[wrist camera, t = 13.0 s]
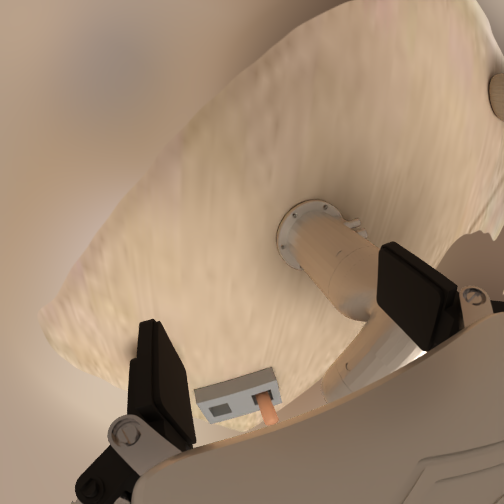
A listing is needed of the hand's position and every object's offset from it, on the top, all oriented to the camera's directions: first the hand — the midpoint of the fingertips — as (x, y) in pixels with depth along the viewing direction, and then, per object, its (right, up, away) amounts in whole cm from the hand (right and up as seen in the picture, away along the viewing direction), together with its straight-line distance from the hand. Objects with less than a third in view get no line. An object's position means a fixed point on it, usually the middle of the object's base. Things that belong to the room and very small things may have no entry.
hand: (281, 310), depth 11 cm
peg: (0, -29, +52) cm, 59 cm away
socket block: (-4, -30, +51) cm, 60 cm away
